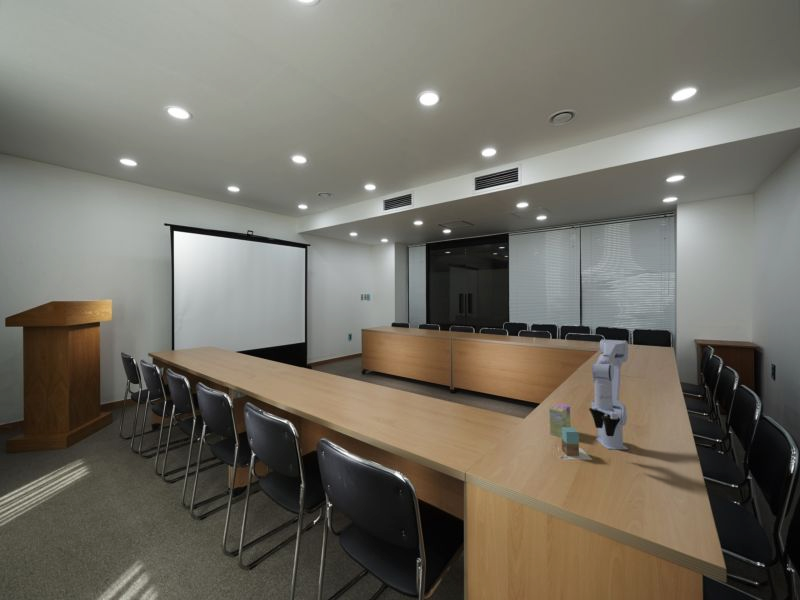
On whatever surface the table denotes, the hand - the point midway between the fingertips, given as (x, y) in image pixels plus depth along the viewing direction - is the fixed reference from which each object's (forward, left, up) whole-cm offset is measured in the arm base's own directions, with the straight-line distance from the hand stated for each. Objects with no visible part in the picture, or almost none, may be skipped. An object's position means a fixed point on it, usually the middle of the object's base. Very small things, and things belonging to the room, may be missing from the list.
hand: (604, 431), depth 122 cm
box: (-24, -7, -11) cm, 27 cm away
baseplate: (-4, -11, -10) cm, 16 cm away
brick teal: (-4, -11, -6) cm, 13 cm away
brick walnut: (-4, -11, -10) cm, 15 cm away
